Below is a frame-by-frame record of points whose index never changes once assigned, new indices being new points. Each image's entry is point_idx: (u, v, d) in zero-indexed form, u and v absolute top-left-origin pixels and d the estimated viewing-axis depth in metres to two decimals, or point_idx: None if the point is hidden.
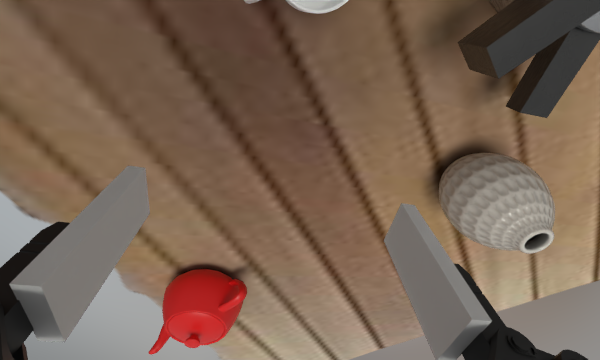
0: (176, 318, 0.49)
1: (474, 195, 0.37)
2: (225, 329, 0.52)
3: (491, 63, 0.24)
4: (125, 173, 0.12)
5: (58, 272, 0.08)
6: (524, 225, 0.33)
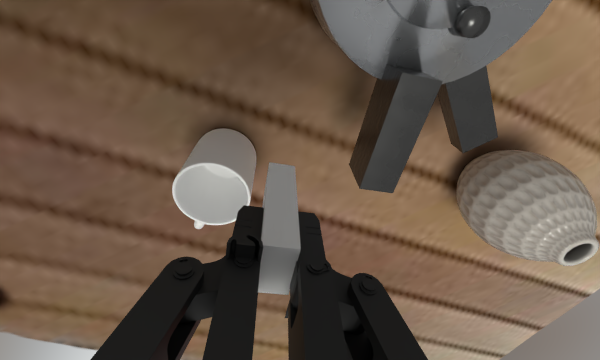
0: None
1: (485, 225, 0.34)
2: None
3: (375, 190, 0.25)
4: (272, 168, 0.15)
5: None
6: (550, 244, 0.29)
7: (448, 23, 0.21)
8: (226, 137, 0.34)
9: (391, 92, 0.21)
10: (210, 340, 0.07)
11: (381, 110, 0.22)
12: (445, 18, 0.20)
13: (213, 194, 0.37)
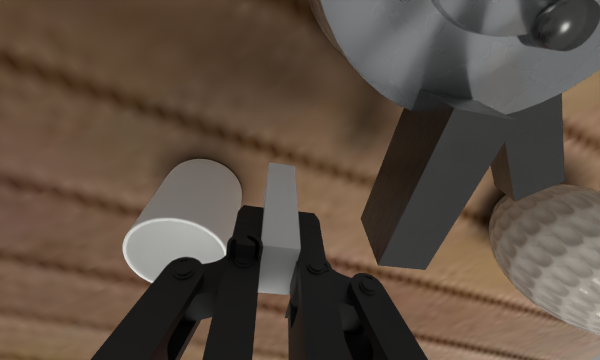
0: None
1: (534, 285, 0.26)
2: None
3: (400, 266, 0.17)
4: (272, 168, 0.15)
5: None
6: None
7: (523, 27, 0.13)
8: (200, 173, 0.26)
9: (432, 136, 0.13)
10: (210, 340, 0.07)
11: (413, 159, 0.15)
12: (520, 19, 0.13)
13: (187, 241, 0.29)
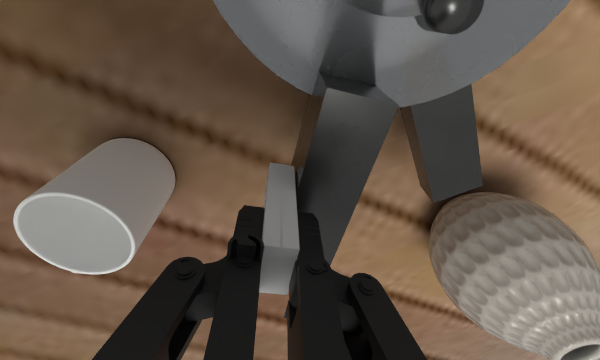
0: None
1: (459, 293, 0.26)
2: None
3: None
4: (273, 168, 0.15)
5: None
6: (543, 338, 0.21)
7: (414, 8, 0.12)
8: (121, 152, 0.25)
9: (315, 119, 0.13)
10: (211, 340, 0.07)
11: (305, 145, 0.14)
12: None
13: (108, 224, 0.27)
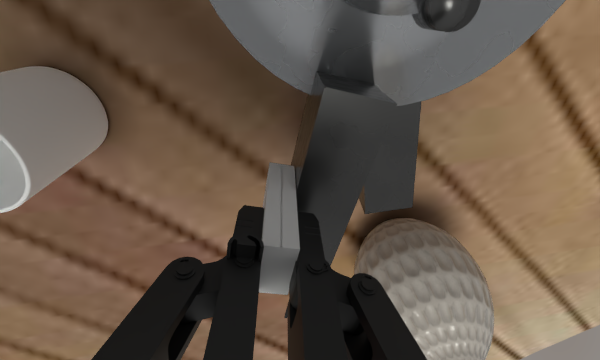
0: None
1: None
2: None
3: None
4: (272, 168, 0.15)
5: None
6: None
7: (411, 6, 0.12)
8: (45, 81, 0.21)
9: (313, 118, 0.13)
10: (211, 340, 0.07)
11: (304, 144, 0.14)
12: None
13: (8, 161, 0.23)
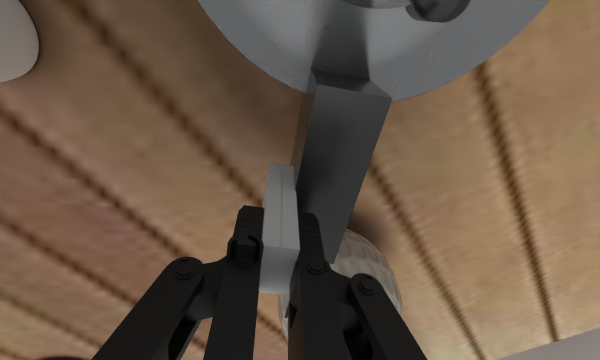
0: None
1: None
2: None
3: None
4: (272, 168, 0.15)
5: None
6: None
7: None
8: None
9: (308, 117, 0.12)
10: (211, 340, 0.07)
11: (301, 143, 0.14)
12: None
13: None
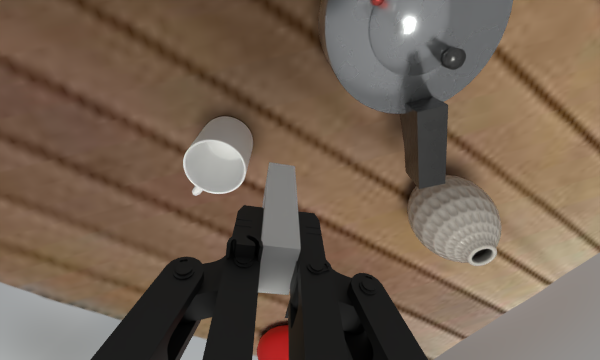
0: None
1: (423, 229, 0.44)
2: None
3: (431, 186, 0.34)
4: (272, 168, 0.15)
5: None
6: (464, 247, 0.39)
7: (437, 64, 0.29)
8: (232, 124, 0.41)
9: (415, 124, 0.31)
10: (210, 340, 0.07)
11: (413, 135, 0.32)
12: (433, 63, 0.29)
13: (212, 169, 0.44)
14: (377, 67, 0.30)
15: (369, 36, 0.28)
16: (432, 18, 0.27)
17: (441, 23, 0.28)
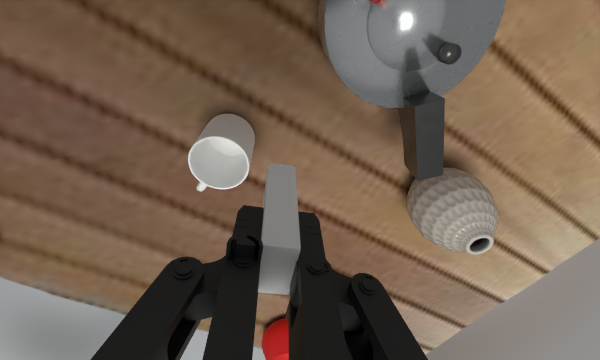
0: None
1: (422, 220, 0.45)
2: None
3: None
4: (272, 168, 0.15)
5: None
6: (462, 237, 0.40)
7: (433, 59, 0.30)
8: (235, 121, 0.42)
9: (413, 118, 0.32)
10: (210, 340, 0.07)
11: (411, 129, 0.33)
12: (430, 58, 0.30)
13: (215, 166, 0.45)
14: (376, 63, 0.31)
15: (367, 33, 0.29)
16: (428, 15, 0.28)
17: (437, 19, 0.28)
